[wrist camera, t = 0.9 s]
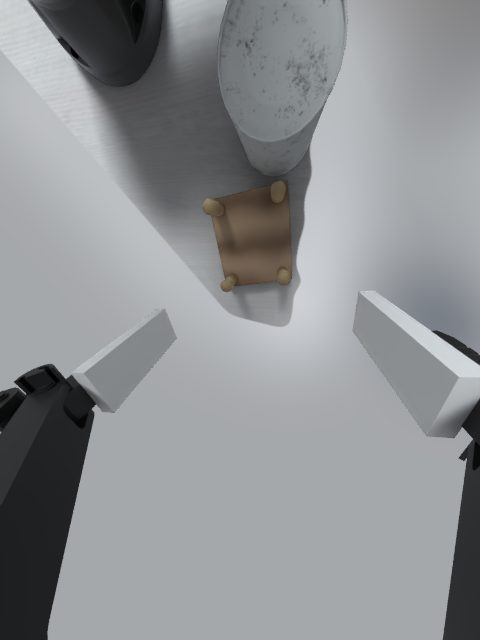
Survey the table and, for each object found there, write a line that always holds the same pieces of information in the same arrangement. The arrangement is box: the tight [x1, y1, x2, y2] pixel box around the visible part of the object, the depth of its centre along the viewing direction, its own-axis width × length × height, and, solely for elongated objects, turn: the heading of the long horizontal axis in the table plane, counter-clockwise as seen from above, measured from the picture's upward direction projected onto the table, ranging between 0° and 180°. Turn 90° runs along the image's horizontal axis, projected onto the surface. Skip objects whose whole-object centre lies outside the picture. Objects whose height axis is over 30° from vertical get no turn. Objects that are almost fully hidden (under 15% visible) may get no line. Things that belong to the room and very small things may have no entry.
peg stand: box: [203, 181, 292, 292], centre depth 28 cm, size 14×12×7 cm
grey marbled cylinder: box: [217, 0, 348, 176], centre depth 19 cm, size 10×10×12 cm
